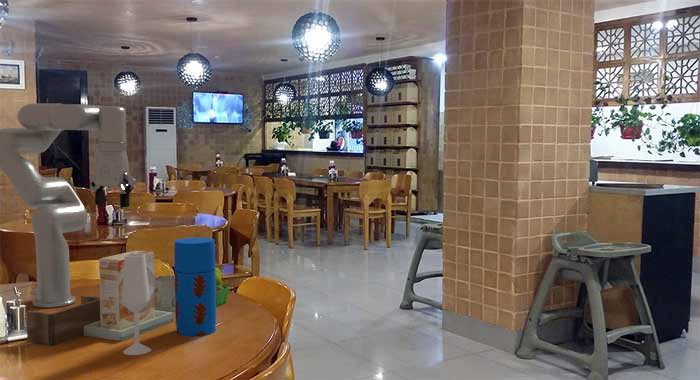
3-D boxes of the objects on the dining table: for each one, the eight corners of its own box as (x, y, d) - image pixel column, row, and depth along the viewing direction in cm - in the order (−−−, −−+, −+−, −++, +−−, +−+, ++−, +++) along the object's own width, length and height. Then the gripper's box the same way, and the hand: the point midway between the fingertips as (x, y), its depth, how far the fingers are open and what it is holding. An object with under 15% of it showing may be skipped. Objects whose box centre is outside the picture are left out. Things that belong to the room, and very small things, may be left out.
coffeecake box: (120, 332, 178) (118, 260, 177) (99, 329, 181) (97, 258, 179) (156, 318, 192) (155, 251, 191) (136, 316, 195) (134, 249, 193)
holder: (27, 341, 174) (26, 311, 173) (84, 322, 191) (83, 295, 191) (51, 345, 170) (50, 314, 170) (107, 326, 188) (106, 298, 187)
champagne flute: (124, 356, 162) (121, 258, 160) (121, 348, 168) (119, 253, 166) (152, 353, 165) (150, 256, 163) (149, 345, 171) (147, 252, 169)
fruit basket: (187, 304, 213) (187, 269, 212) (203, 298, 221) (203, 264, 220) (218, 307, 209) (217, 271, 208) (233, 301, 217) (233, 266, 216)
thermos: (180, 338, 176) (179, 244, 174) (171, 328, 186) (170, 239, 184) (221, 333, 181) (220, 241, 179) (210, 323, 191) (209, 236, 189)
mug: (172, 314, 201) (171, 281, 200) (133, 312, 203) (133, 279, 202) (184, 307, 209) (184, 275, 208) (147, 305, 211) (146, 274, 210)
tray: (83, 335, 179) (83, 326, 179) (137, 316, 199) (137, 307, 198) (121, 341, 174) (121, 331, 174) (173, 321, 193) (173, 312, 193)
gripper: (80, 147, 199) (81, 204, 200) (125, 149, 191) (125, 209, 193) (100, 146, 205) (100, 202, 207) (143, 149, 198) (143, 206, 200)
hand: (112, 205), depth 200 cm, fingers open, 9 cm apart
